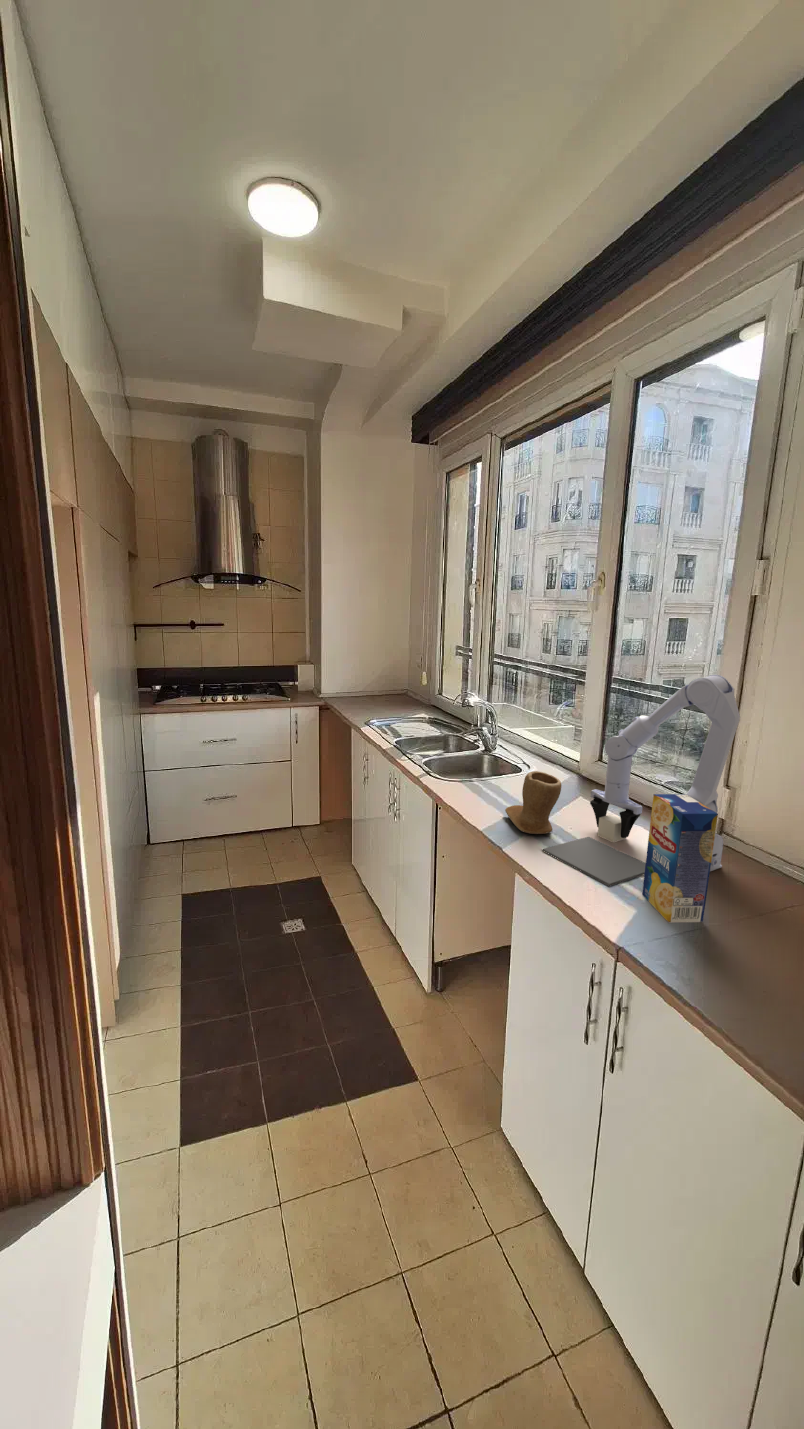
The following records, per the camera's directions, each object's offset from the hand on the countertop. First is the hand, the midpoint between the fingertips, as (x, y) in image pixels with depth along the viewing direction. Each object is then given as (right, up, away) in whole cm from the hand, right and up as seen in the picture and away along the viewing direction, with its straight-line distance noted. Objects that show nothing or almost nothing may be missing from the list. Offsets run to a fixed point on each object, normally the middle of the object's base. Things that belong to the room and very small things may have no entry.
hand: (612, 831), depth 152 cm
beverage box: (0, -9, -34) cm, 35 cm away
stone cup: (-19, 0, +6) cm, 20 cm away
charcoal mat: (-8, -4, -14) cm, 17 cm away
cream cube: (0, -2, 0) cm, 2 cm away
